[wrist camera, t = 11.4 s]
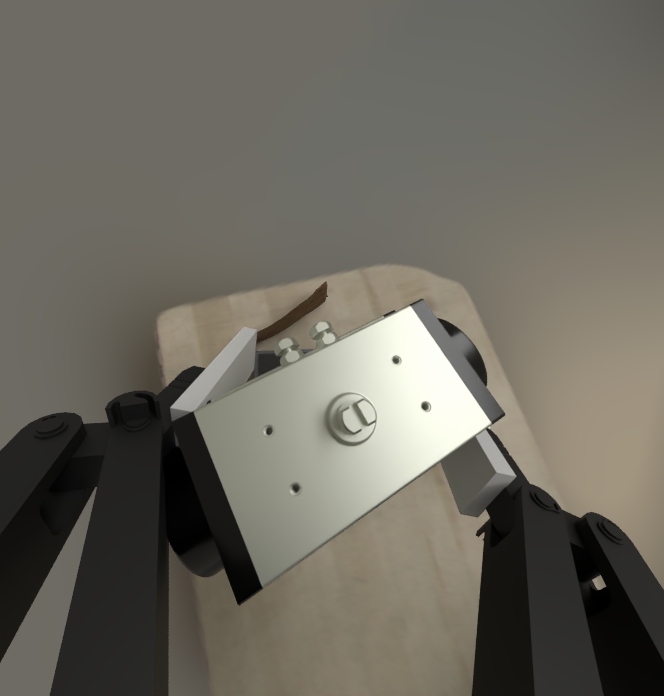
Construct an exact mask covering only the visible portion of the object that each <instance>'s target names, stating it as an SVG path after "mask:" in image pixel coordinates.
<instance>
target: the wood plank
mask: <svg viewBox="0 0 664 696" xmlns="http://www.w3.org/2000/svg"><path fill="white" fill-rule="evenodd" d="M326 297H328V296H327V281H326V282H325V283H323V284H322V285H321V286H320V287H319V288H318V289H317V290H316V291H315V292H314V293H313V295H312V296H310V297H309V298H308V299H307V300H305V301H304V302H303V303H301V304H300V305H299V306H297V307H296V308H295V309H293V310H292V311H291V312H290V313H288V314H287V315H286V316H284V317H283V318H282V319H280V320H278V321H277V322H275V323H274V324H272V325H271V326H269V327H267V328H265V329H263V330H261V331H259V332H257V339H256V343H258V342H260V341H262V340H264V339H267V338H270V337H272V336H274V335H275V334H277V333H279V332H281V331H283V330H284V329H286V328H287V327H289V326H290V325H292V324H293V323H294V322H296V321H297V320H298V319H300V318H301V317H303V316H304V315H306V314H308V313H309V312H311V311H312V310H314V309H315V308H316V307H318V306H319V305H321V304H322V303H323V302H325V300H326Z"/></svg>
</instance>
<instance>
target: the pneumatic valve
mask: <svg viewBox="0 0 664 696" xmlns="http://www.w3.org/2000/svg"><path fill="white" fill-rule="evenodd" d="M332 330H333V327H332V326H331V324H330V323H329V322H328V321H322V322H319V323H317V324H316V325H314V326H313V327H312V328H311V329H310V336H311V337H312V339H315V340H317V342H316V346H317V348H316V349H314V350H312V351H309V352H307V353H305V354H304V353H303V352H302V351H301V350H300V349H296V348H297V347H298V346H299V344H298V342H297V340H296V339H295V338H293V337H288V338H285V339H282V340H281V341H279V342H278V343H276V344H275V346H274V352H275V354H276V356H282V357H281V358H280V364H281V366H279V367H277V368H275V369H273V370H271V371H268V372H266V373H264V374H262V375H260V376H258V377H256V378H254V379H252V380H250V381H248V382H246V383H244V384H242V385H240V386H238V387H236V388H234V389H232V390H230V391H228V392H225V393H223V394H221V395H219V396H217V397H215V398H213V399H211V400H209V401H208V402H207V404H206V405H204V406H202V407H200V408H198V409H196V410H194V411H192V412H190V413H188V414H186V415H184V416H182V417H180V418H178V419H176V420H174V421H172V426H173V429H174V432H175V435H176V437H177V440H178V443H179V445H178V446H176V447H174V448H173V449H172V450H171V451H170V452H169V453H168V454H167V455H166V456H165V457H164V458H163V471H164V477H165V507H166V532H167V538H168V540H169V543H170V545H171V547H172V548H173V550H174V552H175V554H176V555H177V557H178V558H179V560H180V561H181V562H182V563H183V565H185V567H186V568H187V569H188V570H190V571H191V572H192V573H194V574H196V575H198V576H201V577H211V576H213V575H215V574H217V573H218V572H220V571H221V570H222V569H224V568H225V571H226V574H227V576H228V579H229V582H230V585H231V587H232V590H233V593H234V595H235V598H236V601H237V604H238V605H239V606H240V605H241V604H242V603H244V602H245V601H247V600H248V599H249V598H251V597H252V596H254V595H255V594H256V593H258V592H259V591H261V590H262V589H263V588H265V587H266V586H268V585H269V584H270V583H272V582H273V581H275V580H276V579H277V578H279V577H280V576H282V575H283V574H284V573H286V572H287V571H289V570H290V569H291V568H293V567H294V566H296V565H297V564H298V563H300V562H301V561H303V560H304V559H305V558H307V557H308V556H310V555H311V554H312V553H314V552H315V551H316V550H318V549H319V548H321V547H322V546H323V545H325V544H326V543H328V542H329V541H330V540H332V539H333V538H335V537H336V536H337V535H339V534H340V533H342V532H343V531H344V530H346V529H347V528H349V527H350V526H351V525H353V524H354V523H356V522H357V521H358V520H360V519H361V518H363V517H364V516H365V515H367V514H368V513H370V512H371V511H372V510H374V509H375V508H377V507H378V506H379V505H381V504H382V503H383V502H385V501H386V500H388V499H389V498H390V497H392V496H393V495H395V494H396V493H397V492H399V491H400V490H402V489H403V488H404V487H406V486H407V485H409V484H410V483H411V482H413V481H414V480H416V479H417V478H418V477H420V476H421V475H423V474H424V473H425V472H427V471H428V470H430V469H431V468H432V467H434V466H435V465H437V464H438V463H439V462H441V461H442V460H444V459H445V458H446V457H448V456H449V455H450V454H452V453H453V452H455V451H456V450H457V449H459V448H460V447H462V446H463V445H464V444H466V443H467V442H469V441H470V440H471V439H473V438H474V437H476V436H477V435H478V434H480V433H481V432H483V431H484V430H485V429H487V428H488V427H490V426H491V425H492V424H494V423H495V422H497V421H498V420H499V419H501V418H502V417H504V416H505V413H504V411H503V410H502V409H501V407H500V406H499V404H498V403H497V402H496V400H495V399H494V397H493V396H492V395H491V393H490V392H489V390H488V389H487V388H486V386H487V372H486V368H485V365H484V362H483V359H482V357H481V355H480V353H479V351H478V350H477V348H476V347H475V345H474V344H473V343H472V341H471V340H470V339H469V338H468V337H467V336H466V335H465V334H464V333H463V332H462V331H461V330H460V329H459V328H457V327H456V326H454V325H453V324H451V323H449V322H448V321H445V320H443V319H440V318H437V317H436V316H435V315H434V313H433V312H432V310H431V309H430V308H429V306H428V305H427V303H426V302H425V301H424V299H420V300H418V301H416V302H414V303H412V304H410V305H408V306H406V307H404V308H402V309H400V310H398V311H394V310H393V311H391V312H389V313H387V314H385V315H383V316H381V317H379V318H377V319H375V320H373V321H371V322H369V323H367V324H365V325H363V326H361V327H359V328H357V329H355V330H352V331H350V332H348V333H346V334H344V335H342V336H340V337H338V336H337V334H336V333H334V332H331V331H332Z"/></svg>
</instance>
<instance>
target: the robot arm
mask: <svg viewBox="0 0 664 696" xmlns="http://www.w3.org/2000/svg"><path fill="white" fill-rule="evenodd" d="M256 339H257V330H256V329H252V328H247V327H243V328H242V329H241V330H240V331H239V333H238V334H237V335H236V336H235V337H234V338H233V339H232V340H231V341H230V342H229V344H228V345H227V346H226V347H225V348H224V349H223V350H222V351H221V352H220V353H219V355H218V356H217V357H216V358H215V359H214V360H213V361H212V362H211V363H210V364H209V366H208V367H207V368H201V367H196V366H192V367H190V368H188V369H186V370H184V371H182V372H181V373H180V374H179V375H178V376H177V377H176V378H175V380H173V381H172V382H171V383H170V384H169V385H168V386H167V387H166V388H165V389H164V390H162V392H160V393H159V394H158V395H155V394H154V393H152V392H148V391H133V392H128V393H125V394H122V395H120V396H118V397H116V398H114V399H113V400H112V401H110V402H109V403H108V405H107V406H106V408H105V410H106V413H107V417H108V420H109V423H91V424H83V421H82V419H81V417H80V416H79V415H77V414H75V413H67V412H64V413H56V414H51V415H48V416H45V417H41V418H39V419H38V420H35V421H33V422H31V423H29V424H28V425H27V426H25V427H24V428H23V429H21V430H20V431H19V432H18V434H16V436H14V438H13V439H12V440H11V441H10V442H9V443H8V444H7V445H6V446H5V447H4V448H3V449H2V450H1V451H0V662H1V660H2V658H3V657H4V655H5V653H6V651H7V649H8V647H9V646H10V644H11V642H12V640H13V638H14V636H15V634H16V632H17V631H18V629H19V627H20V625H21V623H22V622H23V620H24V618H25V616H26V614H27V612H28V610H29V609H30V607H31V604H32V603H33V601H34V599H35V598H36V596H37V594H38V592H39V590H40V588H41V586H42V585H43V582H44V581H45V579H46V577H47V575H48V574H49V572H50V570H51V568H52V566H53V564H54V562H55V561H56V559H57V557H58V555H59V553H60V551H61V550H62V548H63V546H64V544H65V542H66V540H67V538H68V537H69V535H70V533H71V531H72V529H73V527H74V526H75V524H76V522H77V520H78V518H79V516H80V514H81V513H82V510H83V509H84V507H85V505H86V503H87V502H88V500H89V498H90V496H91V494H92V492H93V490H94V488H95V487H97V490H96V495H95V499H94V504H93V508H92V512H91V517H90V521H89V526H88V530H87V535H86V539H85V543H84V548H83V552H82V556H81V561H80V565H79V569H78V574H77V578H76V583H75V587H74V592H73V596H72V600H71V605H70V609H69V613H68V618H67V623H66V627H65V631H64V636H63V640H62V644H61V649H60V653H59V658H58V662H57V667H56V670H55V675H54V679H53V684H52V688H51V692H50V696H168V618H169V617H168V616H169V614H168V612H169V606H168V604H169V600H168V599H169V596H168V595H169V593H168V591H169V587H168V586H169V584H168V583H169V540H168V538H167V532H166V507H165V477H164V471H163V458H164V457H165V456H166V455H167V454H168V453H169V452H170V451H171V450H172V449H173V448H174V447H176V446H178V445H179V443H178V440H177V437H176V435H175V432H174V429H173V426H172V421H174V420H176V419H178V418H180V417H182V416H184V415H186V414H188V413H190V412H192V411H194V410H196V409H198V408H200V407H202V406H204V405H206V404H207V402H208V401H209V400H211V399H213V398H215V397H217V396H219V395H221V394H223V393H225V392H228V391H230V390H232V389H234V388H236V387H238V386H240V385H242V384H244V383H246V382H247V380H248V378H249V377H250V375H251V373H252V372H253V370H254V362H255V351H256ZM441 465H442V467H443V470H444V473H445V475H446V478H447V480H448V483H449V486H450V488H451V491H452V493H453V496H454V499H455V501H456V504H457V507H458V509H459V512H460V514H463V515H468V516H474V517H479V516H480V515H481V514H482V513H483V511H484V510H485V509H486V510H487V512H488V514H489V516H490V519H489V520H488V521H487V522H486V523H485V524H484V525H483V526H482V527H481V528H480V529H479V530H478V531H477V533H476V536H478V537H479V536H480V535H481V534H482V533H483V532H485V536H484V539H483V541H484V548H483V561H482V574H481V586H480V599H479V612H478V624H477V637H476V650H475V662H474V675H473V688H472V696H664V590H663V588H662V587H661V585H660V584H659V582H658V581H657V579H656V578H655V576H654V575H653V573H652V572H651V570H650V569H649V567H648V565H647V564H646V563H645V561H644V560H643V558H642V556H641V555H640V553H639V552H638V550H637V549H636V547H635V546H634V544H633V543H632V541H631V540H630V539H629V538H628V537H627V535H626V534H625V533H624V532H623V531H622V530H621V529H620V528H619V527H618V526H617V525H616V524H614V523H612V521H610V520H609V519H607V518H605V517H603V516H601V515H599V514H597V513H593V512H590V513H587V514H585V515H584V516H583V517H581V518H579V517H576V516H574V515H572V514H570V513H568V512H566V511H564V510H561V507H560V506H559V505H558V503H557V502H556V501H555V500H554V499H553V498H552V497H551V496H550V495H549V494H548V493H547V492H545V491H544V490H542V489H541V488H539V487H537V486H535V485H533V484H530V483H529V482H528V480H527V479H526V477H525V476H524V475H523V473H522V472H521V470H520V469H519V467H518V466H517V464H516V463H515V461H514V460H513V458H512V457H511V456H510V455H509V453H508V451H507V450H506V448H505V447H504V445H503V444H502V442H501V441H500V439H499V438H498V437H497V435H495V434H494V433H493V432H492V431H491V430H490V429H489V428H487V429H485V430H484V431H483V432H481V433H480V434H478V435H477V436H476V437H474V438H473V439H471V440H470V441H469V442H467V443H466V444H464V445H463V446H462V447H460V448H459V449H457V450H456V451H455V452H453V453H452V454H450V455H449V456H448V457H446V458H445V459H444V460H442V461H441ZM599 575H601V576H602V578H603V580H604V582H605V584H606V587H605V588H603V589H601V590H597V588H596V587H595V585H594V583H593V581H592V579H594V578H596V577H597V576H599Z"/></svg>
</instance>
